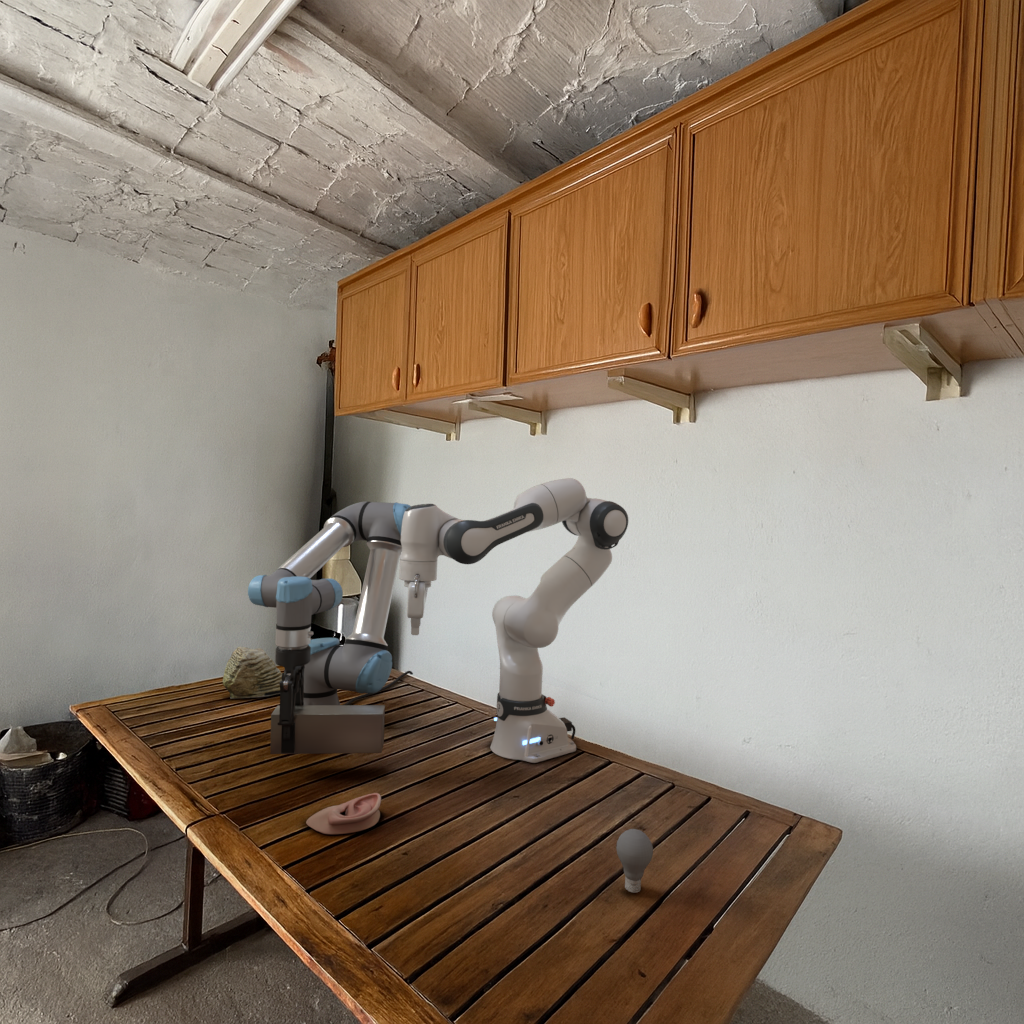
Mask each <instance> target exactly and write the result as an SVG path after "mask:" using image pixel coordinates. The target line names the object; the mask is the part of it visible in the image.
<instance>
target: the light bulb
mask: <svg viewBox="0 0 1024 1024" xmlns="http://www.w3.org/2000/svg"><path fill="white" fill-rule="evenodd" d="M615 849H616V854H617V857H618V859H619V861H620V863H621V865H622V867H623V873H624V874H623V875H624V876H625V878H624V888H625V890H627V891H628V892H630V893H634V894H635V893H639V892H640V891H641V889H642V887H641V886H642V879H643V877H644V875H645V871H646V868H647V867H648V866H649V864H650V863H651V861H652V859H653V855H654V847H653V843H652V841H651V838H649V836H648V835H647V834H646V833H645V832H643V831H642V830H641V829H636V828H629V829H627V830H625V831H623V832H622V833H621V834H620V835H619V837H618V839H617V841H616V847H615Z"/></svg>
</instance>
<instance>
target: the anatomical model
mask: <svg viewBox="0 0 1024 1024" xmlns="http://www.w3.org/2000/svg"><path fill="white" fill-rule="evenodd" d="M381 803H382V796H381V794H380V793H379V792H373V793H368V794H364V795H362V796H358V797H356V798H353V799H351V800H348V801H346V802H343V803H340V804H338V805H332V806H328V807H325V808H323V809H321V810H319V811H317V812H315V813H313V814H312V815H311V816H310V817H308V818H307V819H306V821H305V824H306V825H307V826H308V827H309V828H311V829H312V830H314V831H316V832H319V833H321V834H323V835H343V834H351V833H356V832H362V831H365V830H367V829H369V828H370V829H371V828H372V827H374V826H375V825H376V824H377V823H379V821H380V818H381V812H380V810H379V809H380V807H381Z"/></svg>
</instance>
